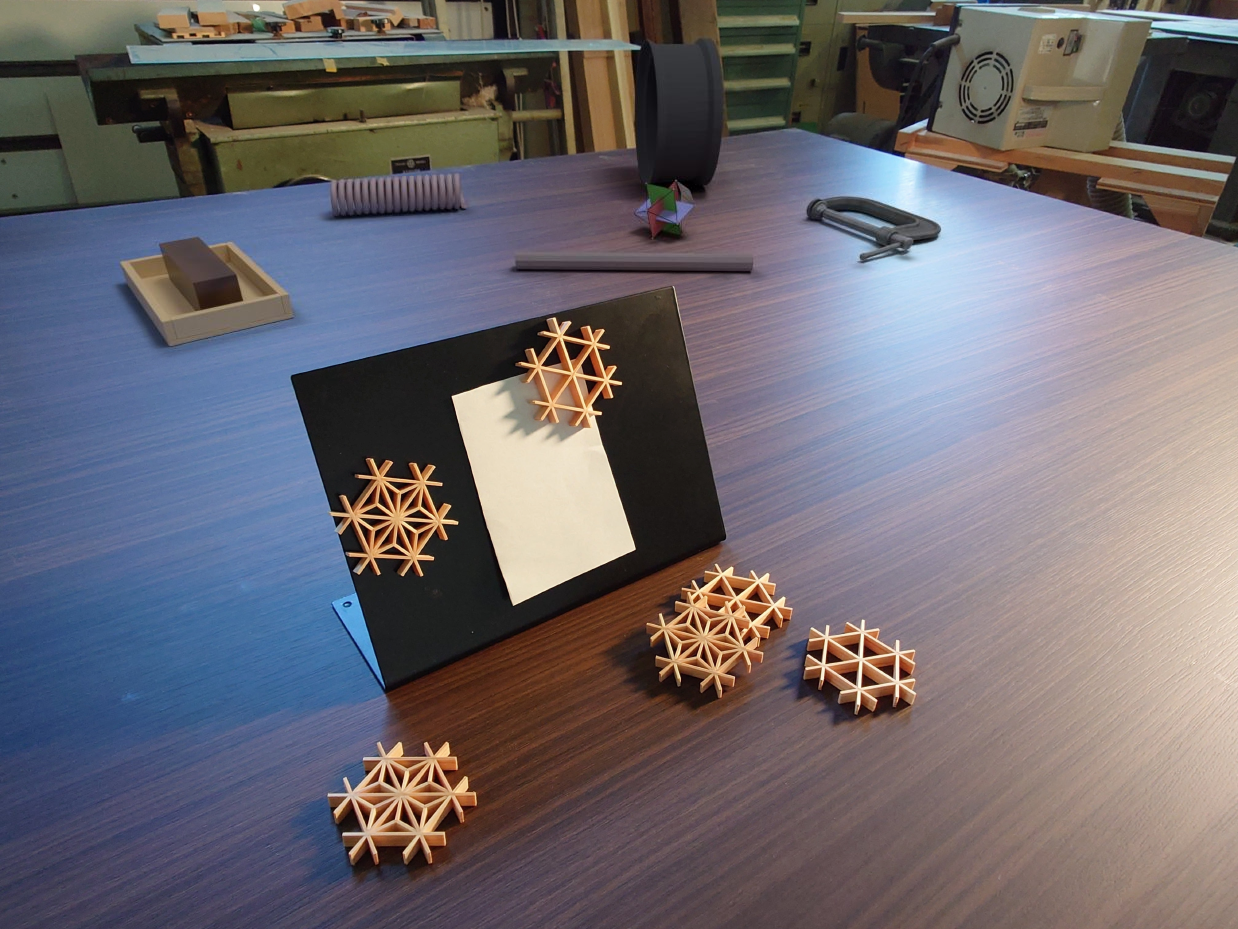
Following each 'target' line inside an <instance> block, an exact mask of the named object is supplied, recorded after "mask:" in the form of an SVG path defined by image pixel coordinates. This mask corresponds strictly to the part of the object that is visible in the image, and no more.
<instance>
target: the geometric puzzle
mask: <svg viewBox="0 0 1238 929" xmlns="http://www.w3.org/2000/svg"><path fill="white" fill-rule="evenodd" d="M665 182H668V181H664V183H665ZM655 183H658V182H655ZM655 183H654V184H647V183H646V185H645V186H644V187H645V189H643V191H642V192H644V190H645V192H646V193H645V194H646V195H645V200H646V201H645V202H644V203H643V204H642V205H640V206H639V208H638V209H637V207H638V206H636V208H635V209H636V210H635V211H634V213H633V215H634V216H635V217H636V218H637V220H639V219H640V220H642V221H644V222H645V223H646V224H648V225H649V229H650V233H651V235H650V233H648V234H649V235H650V236H651V239H652V240H653V239H656V238H658V237H659V236H660V235H662V234H664V233H665V232H667V233H672V234H676V235H674V237H675V236H683V230H685V228H686V226H687V225H685V227H684V228H682V227H683V226H682V222H683V221H682V220H684V218H685V217H686V216H687V215H688V214H689V213H690V212H691V210H693V209H694V208H695V206H697V205H696V203H695V201H694V198H693V195H692V193H691V191H690V188H688V187H686V185H683V184H682V183H681V182H680V181H677V180H675V181H671V183H669V184H667V185H666V186H661V185H655ZM668 186H669V187H668ZM679 191H680V192H679ZM642 196H643V194H641V196H640V197H642ZM640 200H641V199H639V200H638V202H640ZM691 215H692V214H690V215H689V218H688V219H690V216H691ZM640 216H642V217H645V218H647V219H648V220H647V221H646V220H644V219H643V218H642V217H640ZM638 218H639V219H638ZM639 223H640V224H642V222H641V221H639ZM642 226H643V228H645V227H644V225H642ZM645 230H646V232H648V230H647V229H645ZM660 231H662V232H661V233H659V232H660ZM667 237H670V236H669V235H668V236H667ZM661 238H662V236H661V237H659V239H661Z"/></svg>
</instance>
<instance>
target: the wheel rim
mask: <svg viewBox="0 0 1238 929" xmlns="http://www.w3.org/2000/svg"><path fill="white" fill-rule="evenodd" d="M723 80H724V79H723V71H722V63H721V58H720V54H719V49H718V47H717V45H716V42H715V41H714V40H713V39H712V38H708V37H700V38H698V39H696V40H695V42H694V43H668V44H667V43H666V44H665V43H663V44H662V43H661V44H660V43H659V44H657V43H655V42H654V41H652V40H651V39H649V38H647V39H646V38H645V39H644V40H643V41H642V43H641V46H640V49H639V53H638V58H637V65H636V73H635V85H634V134H635V135H634V139H635V152H636V162H637V167H638V172H639V177H640V180H641V182H642V185H643V186H644V187H646V186H645V185H646V183H647V184H652V185H654V184H655V182H657V183H663V182H665V181H667V182H674V181H675V180H677V181H678V182H692V184H693V185H695V186H698V187H702V186H709V184H710V183H711V182H712V180H713V178H714V175H715V173H716V170H717V166H718V162H719V158H720V157H719V156H720V153H721V147H722V139H723V137H722V136H723V129H724V128H723V127H724V83H723Z"/></svg>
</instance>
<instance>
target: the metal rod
mask: <svg viewBox="0 0 1238 929" xmlns="http://www.w3.org/2000/svg"><path fill="white" fill-rule="evenodd" d="M514 262H515V269H516V270H581V271H583V270H584V271H585V270H586V271H587V270H589V271H590V270H591V271H592V270H593V271H595V270H596V271H597V270H598V271H599V270H600V271H612V270H613V271H691V272H693V271H695V272H696V271H700V272H702V271H703V272H704V271H707V272H710V271H711V272H713V271H714V272H752V271H753V269H754V254H753V253H709V252H708V253H707V252H706V253H705V252H704V253H703V252H702V253H697V252H695V253H694V252H691V253H690V252H689V253H688V252H687V253H686V252H684V253H683V252H595V251H594V252H593V251H591V252H589V251H588V252H587V251H584V252H583V251H580V252H579V251H577V252H576V251H515V255H514Z"/></svg>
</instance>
